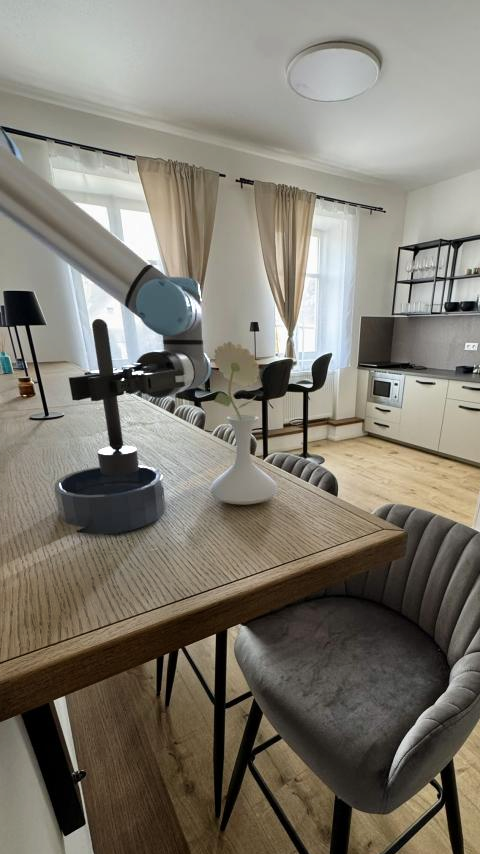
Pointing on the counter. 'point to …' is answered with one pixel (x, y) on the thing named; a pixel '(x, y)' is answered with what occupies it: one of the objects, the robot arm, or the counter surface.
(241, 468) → the flower in vase
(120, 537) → the counter surface
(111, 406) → the rod with disc base
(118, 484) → the bowl
